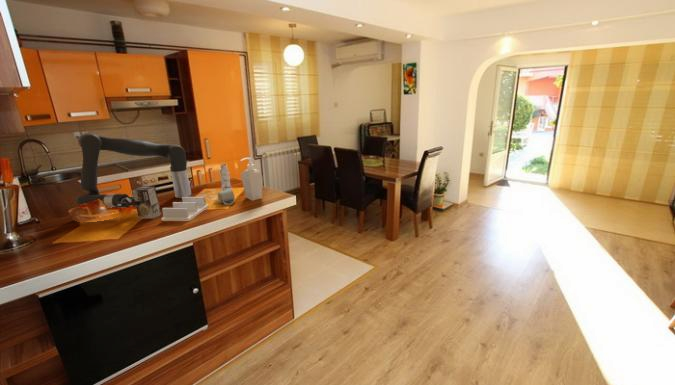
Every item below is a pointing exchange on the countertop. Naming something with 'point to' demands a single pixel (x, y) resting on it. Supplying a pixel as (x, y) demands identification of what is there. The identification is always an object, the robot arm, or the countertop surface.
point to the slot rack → (185, 209)
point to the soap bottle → (252, 181)
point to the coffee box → (147, 202)
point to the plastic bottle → (225, 177)
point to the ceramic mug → (226, 197)
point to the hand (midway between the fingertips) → (145, 200)
